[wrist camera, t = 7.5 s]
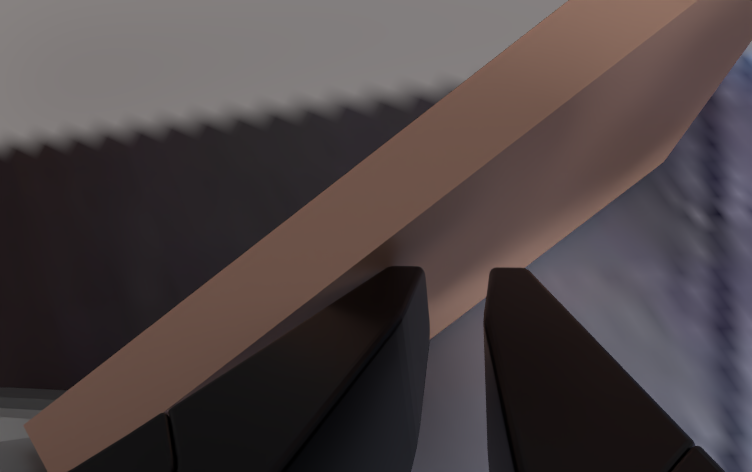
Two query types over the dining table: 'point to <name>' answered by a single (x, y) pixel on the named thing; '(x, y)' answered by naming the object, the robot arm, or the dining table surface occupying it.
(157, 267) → the dining table surface
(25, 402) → the case
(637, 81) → the side door
